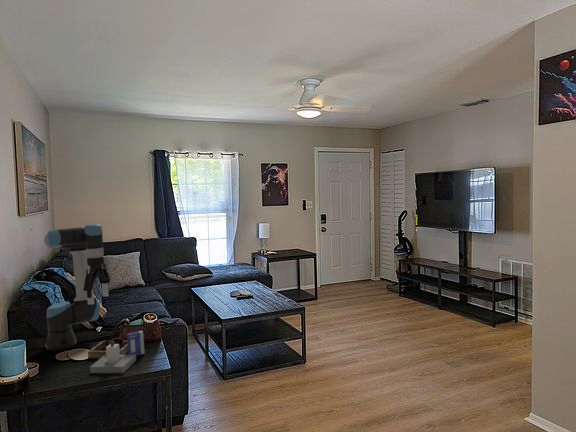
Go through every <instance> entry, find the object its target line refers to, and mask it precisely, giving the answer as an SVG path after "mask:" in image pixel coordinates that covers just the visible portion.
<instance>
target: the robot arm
mask: <svg viewBox="0 0 576 432" xmlns="http://www.w3.org/2000/svg"><path fill="white" fill-rule="evenodd" d="M103 239H104V237H103V227H102V224H100V223H99V224H98V223H96V224H93V223H92V224H86V225H84V226H81V227H71V228H69V227H68V228H60V229H53V230H48V231H47V233H46V234H45V235H44V239H43V240H44V244H45V245H46V247H48V249H52V250H53V249H54V250H68V253H70V254H71V255H72V262H73V263H72V264H73V274H74V283H75V286H74V287H75V295H76V297H74V299H73V303H70V301H61V302H57V303H54V304H52V305H50V306H48V308H47V309H46V321H47V322H46V323H47V338H46V342H45V350H47V351H61V350H65V349H69V348H71V347H73V346H75V345H77V338H76V335H75V333H74V331H73V328H72V326H74V325H78V324H82V323H87V322H93V321H97V320H98V319H99V317H100V313H101V302H100V299H98V298H97V296H96V295H94V289H93V288H94V285H95V281H96V279H97V278H99V279H100V280H101V282H102V283H101V291H102V292H101V294H102V297H109V284H110V283H111V282H110V281H111V278H110V275H109V272H108V270H107V264H106V263H105V257H104V251H105V250H104V243H103V242H104V240H103Z"/></svg>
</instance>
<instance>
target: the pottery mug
mask: <svg viewBox="0 0 576 432" xmlns="http://www.w3.org/2000/svg"><path fill="white" fill-rule="evenodd" d="M104 341H105V345H106V346H109V345H110V344H111V341H114V344H119V349H121V348H123V347H124V346H125V345H124V344H125V342H124V341H125V340H124V339H122V338H120V337H114V338H112V339H107V340H104Z"/></svg>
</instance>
